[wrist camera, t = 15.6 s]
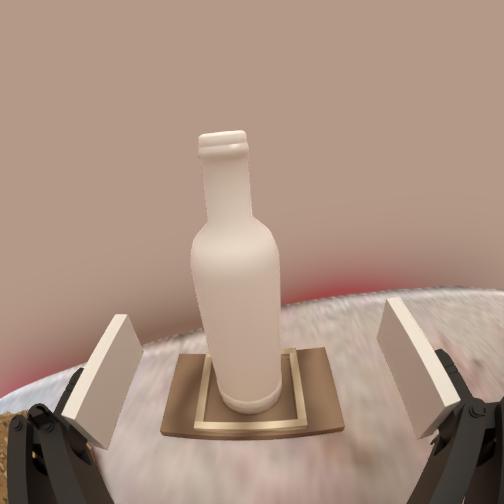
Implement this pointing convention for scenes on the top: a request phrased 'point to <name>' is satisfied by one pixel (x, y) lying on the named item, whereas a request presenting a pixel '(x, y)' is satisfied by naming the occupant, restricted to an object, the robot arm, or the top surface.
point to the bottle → (237, 280)
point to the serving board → (262, 424)
